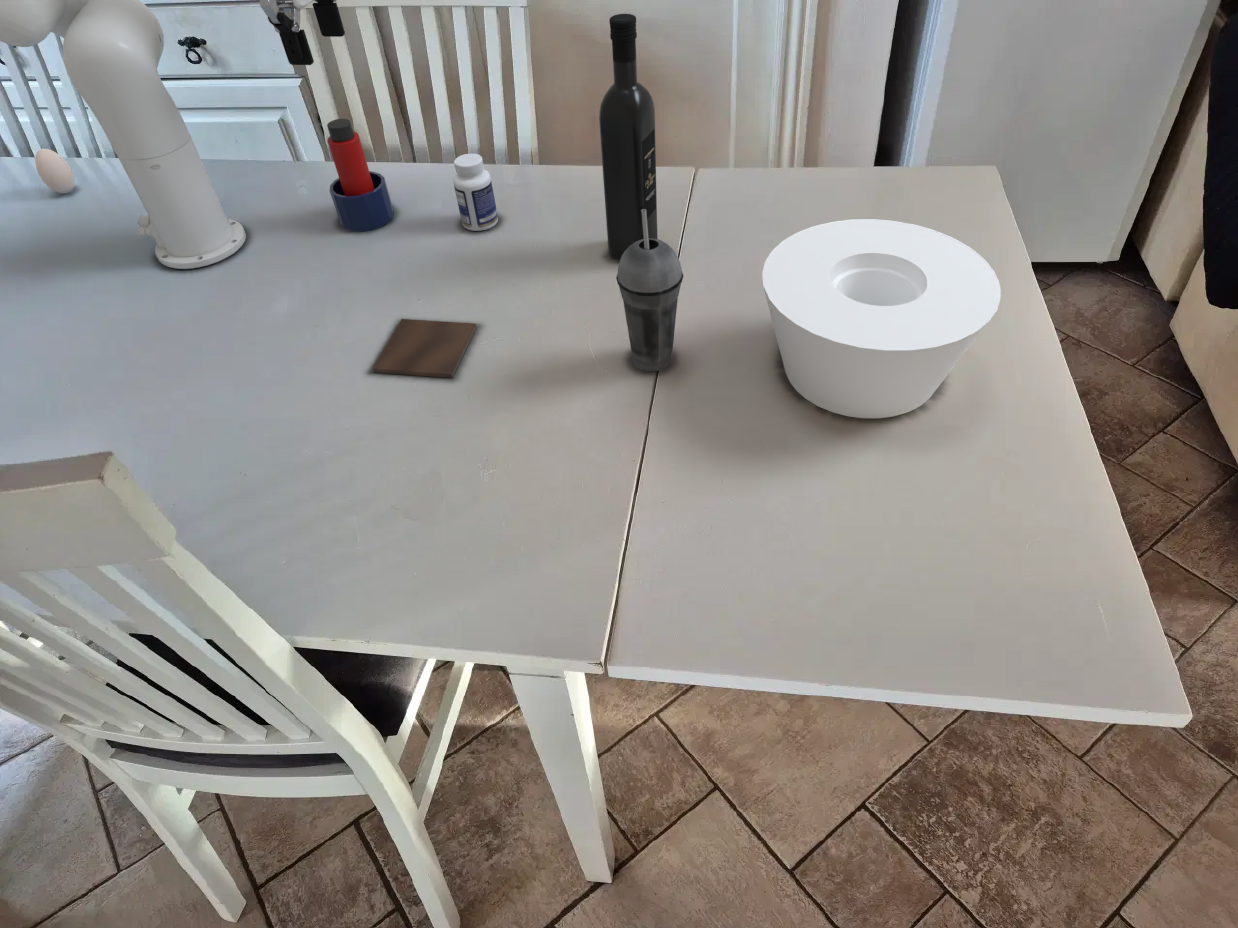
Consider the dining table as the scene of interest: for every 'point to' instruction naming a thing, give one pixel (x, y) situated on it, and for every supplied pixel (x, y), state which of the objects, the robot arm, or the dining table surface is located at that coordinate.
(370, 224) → the blue cup
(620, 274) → the beverage cup
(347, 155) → the sauce bottle
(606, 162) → the wine bottle
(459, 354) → the coaster
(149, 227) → the robot arm
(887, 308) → the recessed white cone
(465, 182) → the pill bottle
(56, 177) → the egg
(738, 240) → the dining table surface
